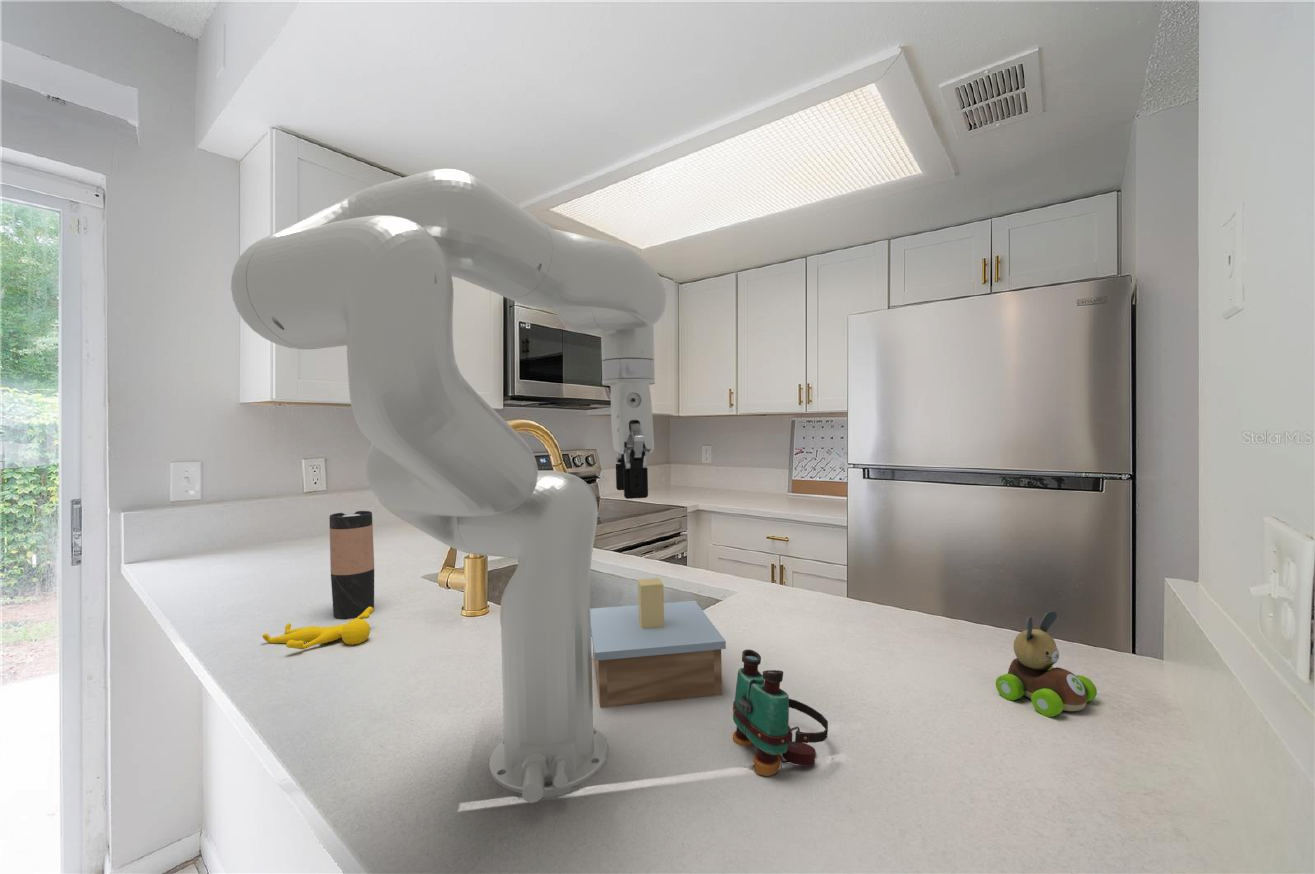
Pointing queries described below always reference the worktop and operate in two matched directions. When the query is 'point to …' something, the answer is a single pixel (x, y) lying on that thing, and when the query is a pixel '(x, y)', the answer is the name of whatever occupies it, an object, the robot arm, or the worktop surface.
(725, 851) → the worktop surface
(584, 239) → the robot arm
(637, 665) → the box
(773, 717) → the binoculars
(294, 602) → the worktop surface
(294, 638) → the figurine
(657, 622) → the lid
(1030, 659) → the toy car
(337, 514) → the travel mug
